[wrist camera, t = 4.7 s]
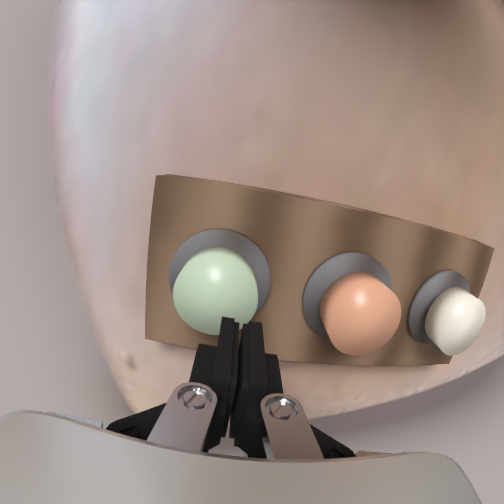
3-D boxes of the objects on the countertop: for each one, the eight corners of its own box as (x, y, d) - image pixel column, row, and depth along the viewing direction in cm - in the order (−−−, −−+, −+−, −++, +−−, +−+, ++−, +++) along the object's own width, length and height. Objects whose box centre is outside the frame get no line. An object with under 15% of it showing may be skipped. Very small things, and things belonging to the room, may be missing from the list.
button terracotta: (394, 276, 18) (411, 290, 16) (372, 337, 19) (385, 356, 17) (330, 266, 18) (342, 280, 15) (311, 333, 19) (319, 353, 17)
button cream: (475, 289, 19) (493, 301, 16) (455, 340, 20) (469, 354, 18) (438, 283, 18) (456, 296, 16) (416, 339, 20) (430, 356, 17)
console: (474, 240, 22) (498, 250, 19) (435, 348, 25) (451, 366, 22) (168, 174, 20) (153, 175, 17) (155, 319, 24) (143, 342, 20)
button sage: (263, 252, 18) (265, 265, 16) (249, 321, 19) (250, 340, 17) (185, 240, 18) (176, 250, 15) (178, 309, 19) (170, 327, 17)
